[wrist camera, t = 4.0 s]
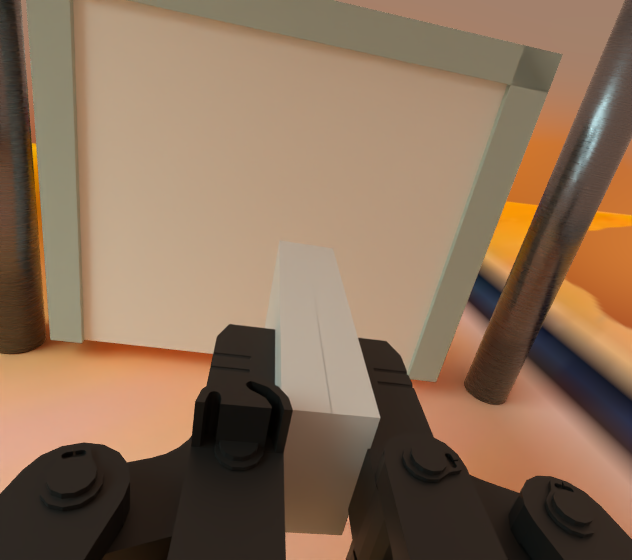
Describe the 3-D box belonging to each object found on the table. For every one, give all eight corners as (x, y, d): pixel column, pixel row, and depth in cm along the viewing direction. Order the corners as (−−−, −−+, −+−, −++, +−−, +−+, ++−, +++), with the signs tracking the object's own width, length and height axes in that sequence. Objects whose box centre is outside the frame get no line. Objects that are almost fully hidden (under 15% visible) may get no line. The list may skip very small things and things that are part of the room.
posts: (-23, 350, 21) (-114, -235, 13) (4, 323, 24) (-59, -195, 15) (513, 406, 26) (717, -7, 17) (495, 378, 28) (668, -1, 19)
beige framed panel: (50, 339, 22) (20, -74, 15) (69, 315, 24) (51, -60, 17) (436, 381, 25) (562, 54, 18) (424, 357, 27) (534, 53, 20)
